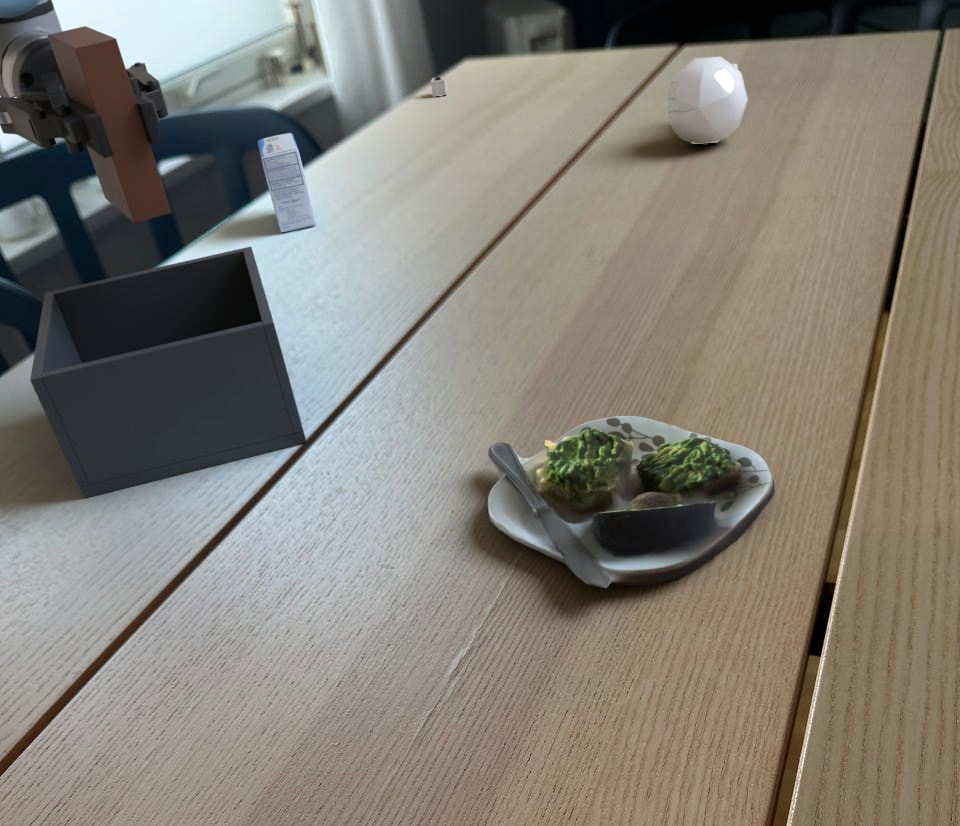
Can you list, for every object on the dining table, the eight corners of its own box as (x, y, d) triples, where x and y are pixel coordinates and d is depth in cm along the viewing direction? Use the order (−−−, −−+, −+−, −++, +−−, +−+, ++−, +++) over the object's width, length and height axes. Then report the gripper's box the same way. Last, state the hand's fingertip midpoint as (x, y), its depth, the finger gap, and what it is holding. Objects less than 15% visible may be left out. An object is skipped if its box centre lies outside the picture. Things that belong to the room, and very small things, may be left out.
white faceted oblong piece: (686, 170, 121) (708, 146, 133) (757, 114, 116) (774, 94, 127) (641, 102, 119) (668, 84, 130) (711, 41, 113) (733, 28, 124)
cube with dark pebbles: (446, 96, 158) (443, 78, 157) (433, 97, 159) (430, 80, 157) (447, 92, 160) (445, 74, 158) (434, 94, 160) (431, 76, 159)
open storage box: (83, 498, 78) (29, 379, 72) (89, 400, 91) (44, 292, 85) (306, 442, 80) (273, 322, 74) (281, 354, 93) (251, 246, 87)
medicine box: (317, 226, 119) (299, 148, 114) (280, 234, 119) (260, 156, 113) (310, 206, 125) (293, 131, 120) (275, 214, 125) (255, 138, 119)
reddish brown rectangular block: (134, 223, 78) (74, 48, 70) (105, 198, 84) (46, 35, 77) (171, 212, 79) (116, 38, 71) (139, 188, 85) (85, 25, 78)
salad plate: (413, 521, 70) (401, 463, 67) (582, 410, 78) (578, 355, 75) (635, 630, 58) (633, 567, 55) (805, 487, 67) (811, 425, 64)
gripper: (156, 109, 95) (243, 155, 79) (-16, 155, 90) (38, 214, 74) (128, 17, 90) (215, 46, 74) (-56, 60, 85) (-7, 101, 69)
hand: (126, 130), depth 74 cm, fingers closed on reddish brown rectangular block, 3 cm apart
